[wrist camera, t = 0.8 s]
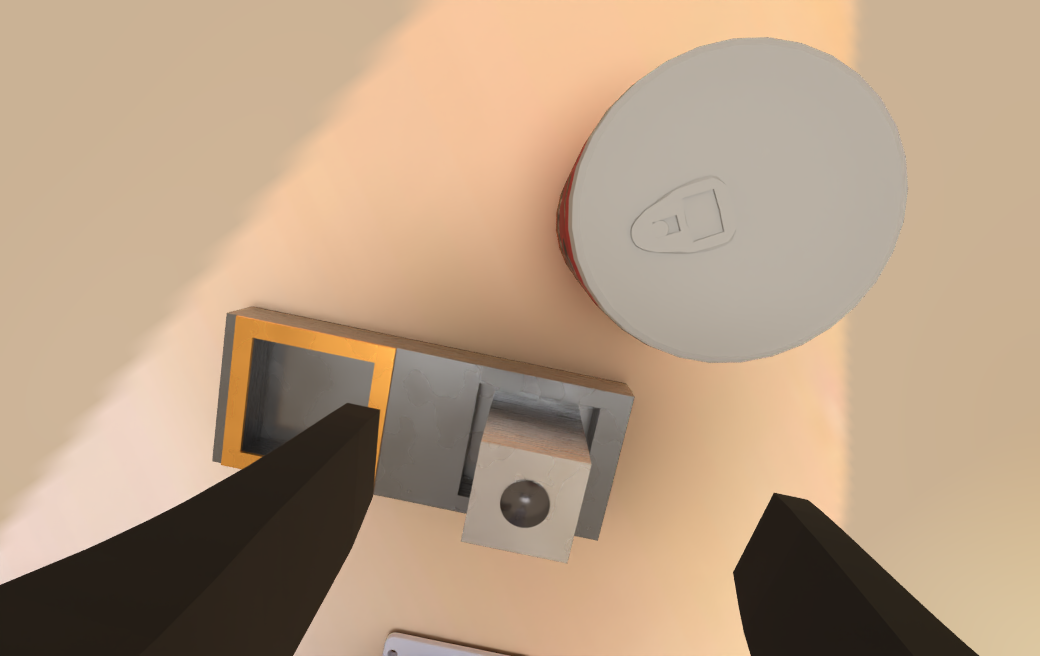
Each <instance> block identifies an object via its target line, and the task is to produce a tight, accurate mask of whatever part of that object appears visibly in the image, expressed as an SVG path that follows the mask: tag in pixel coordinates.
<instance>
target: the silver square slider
mask: <svg viewBox="0 0 1040 656" xmlns="http://www.w3.org/2000/svg"><path fill="white" fill-rule="evenodd" d="M591 465H592V464H591V459H590V455H589V451H588V446H587V442H586V437H585V433H584V429H583V424H582V420H581V416H580V411H579V408H577V407H572V406H567V405H562V404H557V403H553V402H548V401H543V400H538V399H533V398H528V397H523V396H519V395H514V394H509V393H504V392H499V391H495V393H494V397H493V400H492V404H491V407H490V411H489V415H488V418H487V422H486V426H485V429H484V433H483V436H482V440H481V444H480V449H479V454H478V459H477V464H476V469H475V474H474V479H473V484H472V489H471V494H470V499H469V504H468V509H467V514H466V519H465V524H464V529H463V534H462V539H461V542H466V543H471V544H476V545H481V546H485V547H490V548H495V549H500V550H505V551H510V552H515V553H519V554H524V555H529V556H534V557H539V558H544V559H549V560H553V561H558V562H563V563H567V562H568V558H569V554H570V550H571V546H572V542H573V538H574V534H575V530H576V526H577V522H578V518H579V513H580V509H581V505H582V501H583V497H584V493H585V489H586V485H587V481H588V477H589V473H590V469H591Z"/></svg>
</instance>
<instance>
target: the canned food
mask: <svg viewBox="0 0 1040 656" xmlns="http://www.w3.org/2000/svg"><path fill="white" fill-rule="evenodd" d="M907 192H908V183H907V168H906V156H905V153H904V150H903V146H902V143H901V139H900V136H899V132H898V129H897V126H896V124H895V122H894V121H893V119H892V117H891V116H890V113H889V112H888V110H887V108H886V106H885V104H884V103H883V101H882V99H881V98H880V97H879V95H878V94H877V93H876V92H875V91H874V90H873V89H872V88H871V87H870V85H869V84H868V83H867V82H866V81H865V80H864V79H863V78H862V77H861V75H860V74H858V73H857V72H855V71H854V70H853V69H851V68H850V67H848V66H847V65H845V64H844V63H842V62H841V61H840V60H838V59H837V58H835V57H834V56H832V55H830V54H827V53H825V52H822V51H820V50H817V49H815V48H812V47H810V46H807V45H805V44H802V43H798V42H792V41H786V40H780V39H774V38H769V37H765V38H737V39H729V40H725V41H721V42H717V43H713V44H708V45H704V46H700V47H697V48H695V49H693V50H690V51H688V52H686V53H684V54H682V55H679V56H677V57H675V58H673V59H670V60H668V61H666V62H665V63H663V64H662V65H660V66H659V67H657V68H656V69H655V70H653V71H652V72H650V73H649V74H647V75H646V76H645V77H643V78H642V79H640V80H639V81H637V82H636V83H635V84H634V85H632V86H631V87H630V88H629V89H628V90H627V91H626V92H625V93H624V94H623V95H622V96H621V97H620V98H619V99H618V100H617V101H616V102H615V103H614V104H613V105H612V106H611V107H610V108H609V109H608V110H607V112H606V113H605V114H604V116H603V117H602V119H601V120H600V122H599V123H598V125H597V126H596V128H595V129H594V131H593V132H592V134H591V135H590V137H589V138H588V140H587V141H586V143H585V144H584V146H583V148H582V150H581V152H580V154H579V156H578V158H577V160H576V162H575V164H574V166H573V169H572V171H571V173H570V175H569V177H568V179H567V181H566V184H565V186H564V188H563V191H562V193H561V195H560V200H559V204H558V209H557V218H556V232H557V237H558V242H559V248H560V250H561V253H562V255H563V257H564V260H565V262H566V264H567V266H568V267H569V269H570V270H571V272H572V273H573V275H574V276H575V278H576V279H577V280H578V282H579V283H580V284H581V285H582V287H583V288H584V289H585V291H586V292H587V293H588V295H589V296H590V297H591V299H592V300H593V301H594V303H595V304H596V305H597V306H598V307H599V308H600V309H601V310H602V311H603V312H604V313H605V314H606V315H607V316H608V317H609V318H610V319H611V320H612V321H614V322H615V323H616V324H617V325H618V326H619V327H620V328H621V329H622V330H624V331H625V332H627V333H628V334H630V335H632V336H633V337H635V338H636V339H638V340H640V341H641V342H643V343H644V344H646V345H649V346H651V347H653V348H656V349H658V350H661V351H664V352H666V353H669V354H672V355H674V356H677V357H679V358H685V359H691V360H697V361H702V362H708V363H727V362H745V361H750V360H755V359H761V358H766V357H771V356H774V355H777V354H779V353H782V352H785V351H787V350H790V349H792V348H795V347H798V346H800V345H803V344H804V343H806V342H808V341H809V340H811V339H813V338H814V337H816V336H818V335H820V334H821V333H823V332H825V331H826V330H828V329H830V328H831V327H832V326H833V325H835V324H836V323H837V322H838V321H839V320H840V319H842V318H843V317H844V316H845V315H846V314H847V313H849V312H850V311H851V310H852V309H853V308H855V307H856V305H857V304H858V303H859V302H860V301H861V299H862V298H863V297H864V296H865V295H866V293H867V292H868V291H869V290H870V289H871V287H872V286H873V285H874V284H875V283H876V281H877V280H878V278H879V276H880V274H881V272H882V271H883V269H884V267H885V265H886V264H887V262H888V260H889V258H890V257H891V255H892V253H893V251H894V248H895V245H896V242H897V239H898V236H899V233H900V230H901V227H902V224H903V221H904V215H905V207H906V200H907Z"/></svg>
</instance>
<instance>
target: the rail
mask: <svg viewBox="0 0 1040 656" xmlns="http://www.w3.org/2000/svg"><path fill="white" fill-rule="evenodd" d="M495 391H499V392H504V393H509V394H514V395H519V396H523V397H528V398H533V399H538V400H543V401H548V402H553V403H557V404H562V405H567V406H572V407H577V408H579V411H580V416H581V420H582V424H583V429H584V433H585V437H586V442H587V446H588V451H589V455H590V459H591V464H592V465H591V469H590V473H589V477H588V481H587V485H586V489H585V493H584V497H583V501H582V505H581V509H580V513H579V518H578V522H577V526H576V530H575V534H574V536H578V537H583V538H588V539H593V540H597V541H598V538H599V534H600V530H601V526H602V522H603V518H604V514H605V510H606V506H607V502H608V498H609V495H610V491H611V487H612V483H613V479H614V475H615V471H616V467H617V463H618V459H619V455H620V452H621V448H622V444H623V440H624V436H625V432H626V428H627V424H628V420H629V416H630V413H631V409H632V405H633V401H634V396H633V394H632V392H631V390H630V389H629V387H628V385H627V384H625V383H620V382H615V381H610V380H605V379H600V378H596V377H591V376H586V375H581V374H576V373H571V372H567V371H562V370H557V369H552V368H547V367H542V366H538V365H533V364H528V363H523V362H518V361H513V360H508V359H504V358H499V357H494V356H489V355H484V354H479V353H475V352H470V351H465V350H460V349H455V348H450V347H446V346H441V345H436V344H431V343H426V342H421V341H417V340H412V339H407V338H402V337H397V336H392V335H387V334H383V333H378V332H373V331H368V330H363V329H358V328H354V327H349V326H344V325H339V324H334V323H329V322H325V321H320V320H315V319H310V318H305V317H300V316H296V315H291V314H286V313H281V312H276V311H271V310H266V309H262V308H257V307H248V308H244V309H241V310H237V311H233V312H229V313H227V317H226V327H225V337H224V347H223V358H222V368H221V378H220V388H219V398H218V409H217V419H216V429H215V439H214V450H213V460H212V461H214V462H219V463H221V465H224V466H229V467H234V468H238V469H243V468H245V467H247V466H248V465H250V464H252V463H253V462H255V461H256V460H258V459H260V458H261V457H263V456H264V455H266V454H268V453H269V452H271V451H273V450H274V449H276V448H277V447H279V446H281V445H282V444H284V443H285V442H287V441H288V440H290V439H292V438H293V437H295V436H296V435H298V434H299V433H301V432H302V431H304V430H305V429H307V428H309V427H310V426H312V425H313V424H315V423H316V422H318V421H319V420H321V419H322V418H324V417H325V416H327V415H328V414H330V413H332V412H333V411H335V410H336V409H338V408H340V407H341V406H343V405H344V404H346V403H351V404H356V405H361V406H366V407H370V408H375V409H380V419H379V430H378V442H377V454H376V466H375V478H374V490H373V494H374V495H379V496H384V497H389V498H394V499H398V500H403V501H408V502H413V503H418V504H423V505H428V506H432V507H437V508H442V509H447V510H452V511H457V512H462V513H466V514H467V509H468V504H469V499H470V494H471V489H472V484H473V479H474V474H475V469H476V464H477V459H478V454H479V449H480V444H481V440H482V436H483V433H484V429H485V426H486V422H487V418H488V415H489V411H490V407H491V404H492V400H493V397H494V393H495Z"/></svg>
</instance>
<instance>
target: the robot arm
mask: <svg viewBox="0 0 1040 656" xmlns="http://www.w3.org/2000/svg"><path fill="white" fill-rule="evenodd" d="M379 419H380V409H375V408H370V407H366V406H361V405H356V404H351V403H346V404H344V405H343V406H341V407H340V408H338V409H336V410H335V411H333V412H332V413H330V414H328V415H327V416H325V417H324V418H322V419H321V420H319V421H318V422H316V423H315V424H313V425H312V426H310V427H309V428H307V429H305V430H304V431H302V432H301V433H299V434H298V435H296V436H295V437H293V438H292V439H290V440H288V441H287V442H285V443H284V444H282V445H281V446H279V447H277V448H276V449H274V450H273V451H271V452H269V453H268V454H266V455H264V456H263V457H261V458H260V459H258V460H256V461H255V462H253V463H252V464H250V465H248V466H247V467H245V468H243V469H242V470H240V471H238V472H237V473H235V474H233V475H231V476H230V477H228V478H226V479H224V480H223V481H221V482H219V483H217V484H215V485H214V486H212V487H210V488H208V489H207V490H205V491H203V492H201V493H200V494H198V495H196V496H194V497H192V498H191V499H189V500H187V501H185V502H183V503H181V504H179V505H178V506H176V507H174V508H172V509H170V510H168V511H166V512H164V513H162V514H160V515H158V516H156V517H154V518H152V519H150V520H148V521H146V522H144V523H142V524H139V525H137V526H135V527H133V528H131V529H129V530H127V531H125V532H123V533H120V534H118V535H116V536H114V537H112V538H110V539H108V540H106V541H104V542H101V543H99V544H97V545H95V546H92V547H90V548H88V549H86V550H83V551H81V552H79V553H76V554H74V555H71V556H69V557H66V558H64V559H62V560H59V561H57V562H54V563H52V564H50V565H47V566H45V567H42V568H40V569H38V570H35V571H33V572H30V573H28V574H26V575H23V576H21V577H18V578H16V579H13V580H11V581H9V582H6V583H4V584H1V585H0V656H293V655H294V653H295V651H296V649H297V648H298V646H299V644H300V642H301V640H302V638H303V637H304V635H305V633H306V631H307V629H308V628H309V626H310V624H311V622H312V620H313V618H314V617H315V615H316V613H317V611H318V609H319V608H320V606H321V604H322V602H323V600H324V598H325V597H326V595H327V593H328V591H329V589H330V587H331V586H332V584H333V582H334V580H335V578H336V576H337V575H338V573H339V571H340V569H341V567H342V565H343V563H344V562H345V560H346V558H347V556H348V554H349V552H350V550H351V548H352V546H353V544H354V542H355V539H356V537H357V534H358V532H359V530H360V527H361V525H362V522H363V520H364V517H365V515H366V512H367V510H368V507H369V505H370V502H371V500H372V497H373V490H374V478H375V466H376V454H377V442H378V430H379ZM733 575H734V581H735V587H736V593H737V599H738V605H739V610H740V615H741V620H742V625H743V630H744V634H745V637H746V641H747V644H748V648H749V651H750V654H751V656H979V655H978V654H976V653H975V652H974V651H973V650H972V649H971V648H970V647H968V646H967V645H966V644H965V643H964V642H963V641H961V640H960V639H959V638H958V637H957V636H956V635H955V634H954V633H953V632H952V631H951V630H949V629H948V628H947V627H946V626H945V625H944V624H943V623H942V622H940V621H939V620H938V619H937V618H936V617H935V616H934V615H933V614H932V613H931V612H929V611H928V610H927V609H926V608H925V607H924V606H923V605H922V604H921V603H920V602H919V601H918V600H916V599H915V598H914V597H913V596H912V595H911V594H910V593H909V592H908V591H907V590H906V589H905V588H903V586H901V585H900V584H899V583H898V582H897V581H896V580H895V579H894V578H893V577H892V576H891V575H890V574H889V573H888V572H886V570H884V569H883V568H882V567H881V566H880V565H879V564H878V563H877V562H876V561H875V560H874V559H873V558H872V557H871V556H870V555H869V554H867V553H866V552H865V551H864V550H863V549H862V548H861V547H860V546H859V545H858V544H857V543H856V542H855V541H854V540H853V539H852V538H850V537H849V536H848V535H847V534H846V533H845V532H844V531H843V530H842V529H841V528H840V527H839V526H838V525H836V524H835V523H834V522H833V521H832V520H831V519H830V518H829V517H828V516H826V515H825V514H824V513H823V512H822V511H821V510H819V509H818V508H817V507H816V506H815V505H813V504H812V503H811V502H810V501H808V500H806V499H801V498H796V497H792V496H787V495H782V494H777V493H774V494H773V496H772V498H771V500H770V502H769V504H768V506H767V507H766V509H765V511H764V513H763V515H762V517H761V519H760V521H759V523H758V525H757V527H756V529H755V531H754V533H753V535H752V537H751V539H750V541H749V543H748V544H747V546H746V548H745V550H744V552H743V554H742V556H741V558H740V560H739V562H738V564H737V566H736V568H735V570H734V572H733ZM391 650H395V651H396V652H392V651H391ZM383 656H509V655H504V654H499V653H494V652H489V651H484V650H480V649H475V648H470V647H465V646H460V645H455V644H450V643H445V642H441V641H436V640H431V639H426V638H421V637H416V636H411V635H407V634H402V633H391V634H389V635H388V636H387V639H386V641H385V645H384V650H383Z"/></svg>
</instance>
